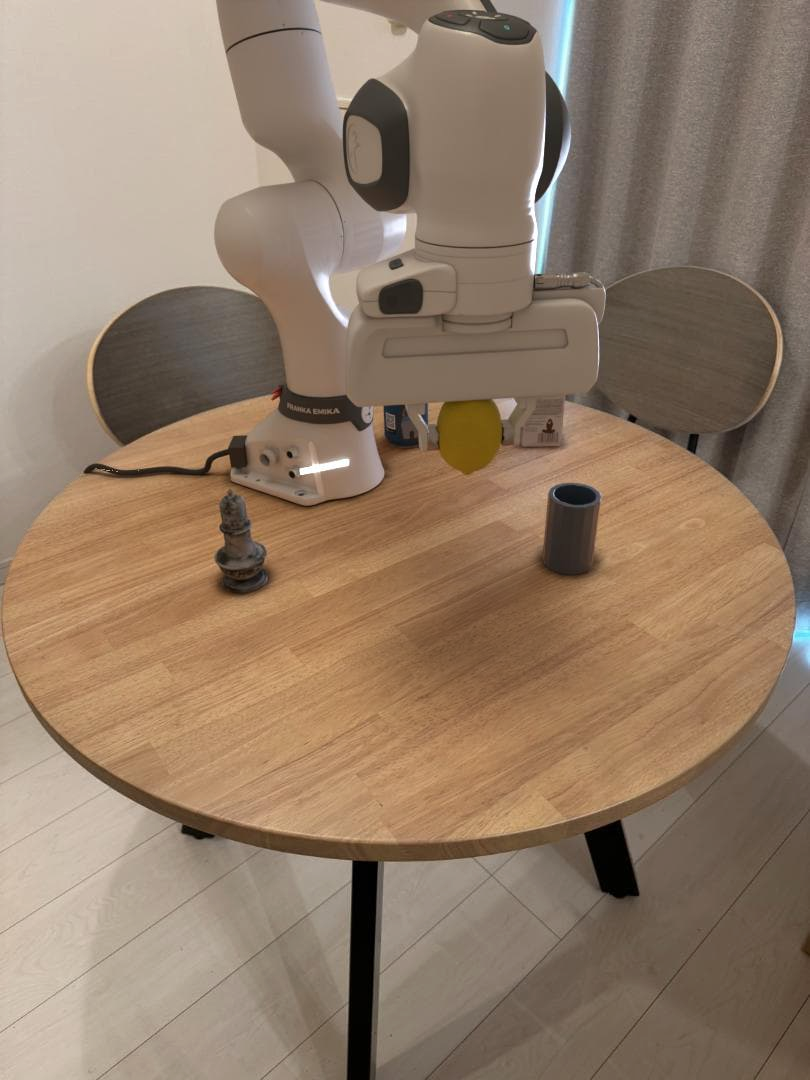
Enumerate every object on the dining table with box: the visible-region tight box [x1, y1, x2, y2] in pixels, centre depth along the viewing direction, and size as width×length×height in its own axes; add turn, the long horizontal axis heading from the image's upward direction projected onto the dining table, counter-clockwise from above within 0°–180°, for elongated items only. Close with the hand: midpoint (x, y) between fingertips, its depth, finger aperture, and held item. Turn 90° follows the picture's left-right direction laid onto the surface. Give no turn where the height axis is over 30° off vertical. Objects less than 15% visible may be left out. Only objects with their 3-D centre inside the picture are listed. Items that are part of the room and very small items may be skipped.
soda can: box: [382, 403, 429, 449], centre depth 114 cm, size 7×7×12 cm
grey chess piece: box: [213, 488, 269, 594], centre depth 82 cm, size 6×6×12 cm
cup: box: [542, 482, 603, 576], centre depth 85 cm, size 6×6×9 cm
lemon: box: [436, 399, 502, 476], centre depth 62 cm, size 6×6×8 cm
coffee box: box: [520, 395, 566, 448], centre depth 114 cm, size 9×6×16 cm
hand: (468, 445), depth 62 cm, fingers closed on lemon, 5 cm apart
